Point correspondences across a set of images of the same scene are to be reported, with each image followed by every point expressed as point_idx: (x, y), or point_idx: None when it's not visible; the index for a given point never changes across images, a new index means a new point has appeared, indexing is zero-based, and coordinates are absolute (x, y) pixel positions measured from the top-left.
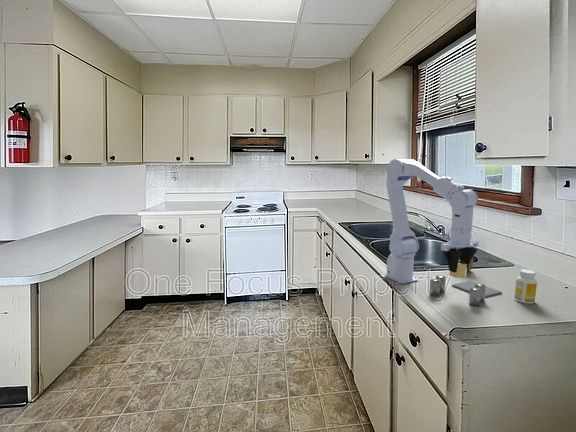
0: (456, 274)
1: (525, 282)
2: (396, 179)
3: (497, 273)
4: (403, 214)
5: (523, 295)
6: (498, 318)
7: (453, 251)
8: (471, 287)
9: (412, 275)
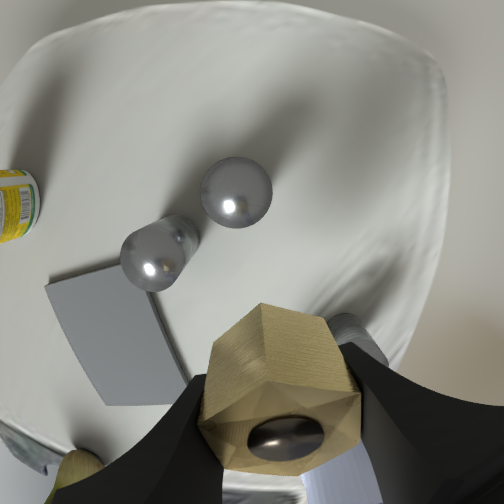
0: (329, 332)
1: None
2: None
3: (18, 407)
4: None
5: (15, 181)
6: (243, 43)
7: (495, 479)
8: (243, 227)
9: None
